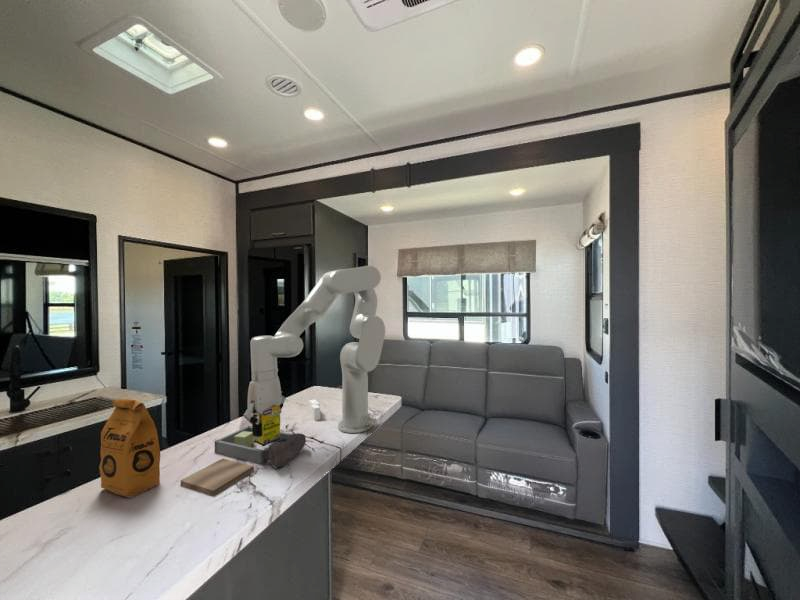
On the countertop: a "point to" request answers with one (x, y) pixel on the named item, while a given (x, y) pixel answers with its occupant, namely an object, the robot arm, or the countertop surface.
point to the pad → (217, 476)
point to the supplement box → (269, 426)
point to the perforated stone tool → (286, 449)
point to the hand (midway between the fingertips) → (267, 430)
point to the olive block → (244, 438)
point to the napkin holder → (314, 409)
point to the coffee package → (129, 450)
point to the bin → (243, 448)
